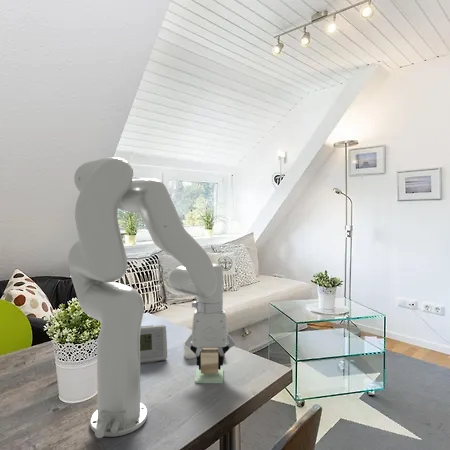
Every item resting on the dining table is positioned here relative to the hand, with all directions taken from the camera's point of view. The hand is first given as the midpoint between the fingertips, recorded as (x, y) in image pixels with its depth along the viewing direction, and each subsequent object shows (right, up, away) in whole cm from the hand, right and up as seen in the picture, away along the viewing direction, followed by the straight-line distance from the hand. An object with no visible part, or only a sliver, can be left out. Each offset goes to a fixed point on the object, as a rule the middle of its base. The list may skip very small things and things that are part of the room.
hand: (209, 367), depth 101 cm
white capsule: (-7, -2, +14) cm, 16 cm away
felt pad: (0, -3, 0) cm, 3 cm away
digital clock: (-22, -2, +10) cm, 25 cm away
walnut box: (+2, -2, +13) cm, 13 cm away
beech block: (0, -1, 0) cm, 1 cm away
